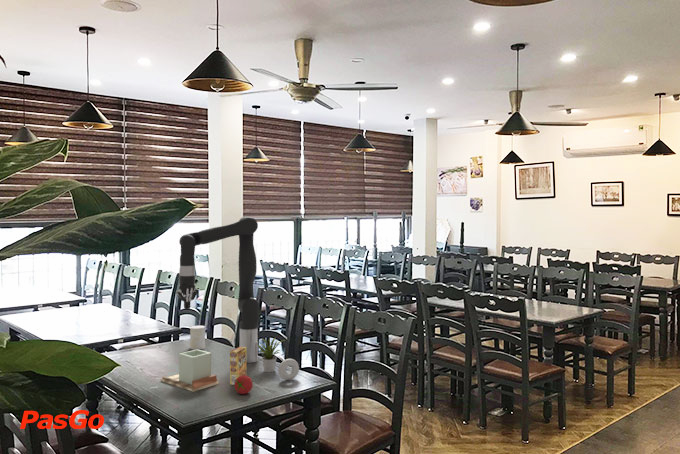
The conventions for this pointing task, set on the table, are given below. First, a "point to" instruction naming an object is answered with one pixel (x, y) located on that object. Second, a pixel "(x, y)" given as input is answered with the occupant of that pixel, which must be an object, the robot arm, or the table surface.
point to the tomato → (243, 384)
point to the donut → (293, 372)
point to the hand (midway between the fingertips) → (187, 309)
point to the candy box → (237, 364)
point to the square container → (194, 365)
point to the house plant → (269, 355)
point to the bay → (195, 385)
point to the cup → (197, 337)
